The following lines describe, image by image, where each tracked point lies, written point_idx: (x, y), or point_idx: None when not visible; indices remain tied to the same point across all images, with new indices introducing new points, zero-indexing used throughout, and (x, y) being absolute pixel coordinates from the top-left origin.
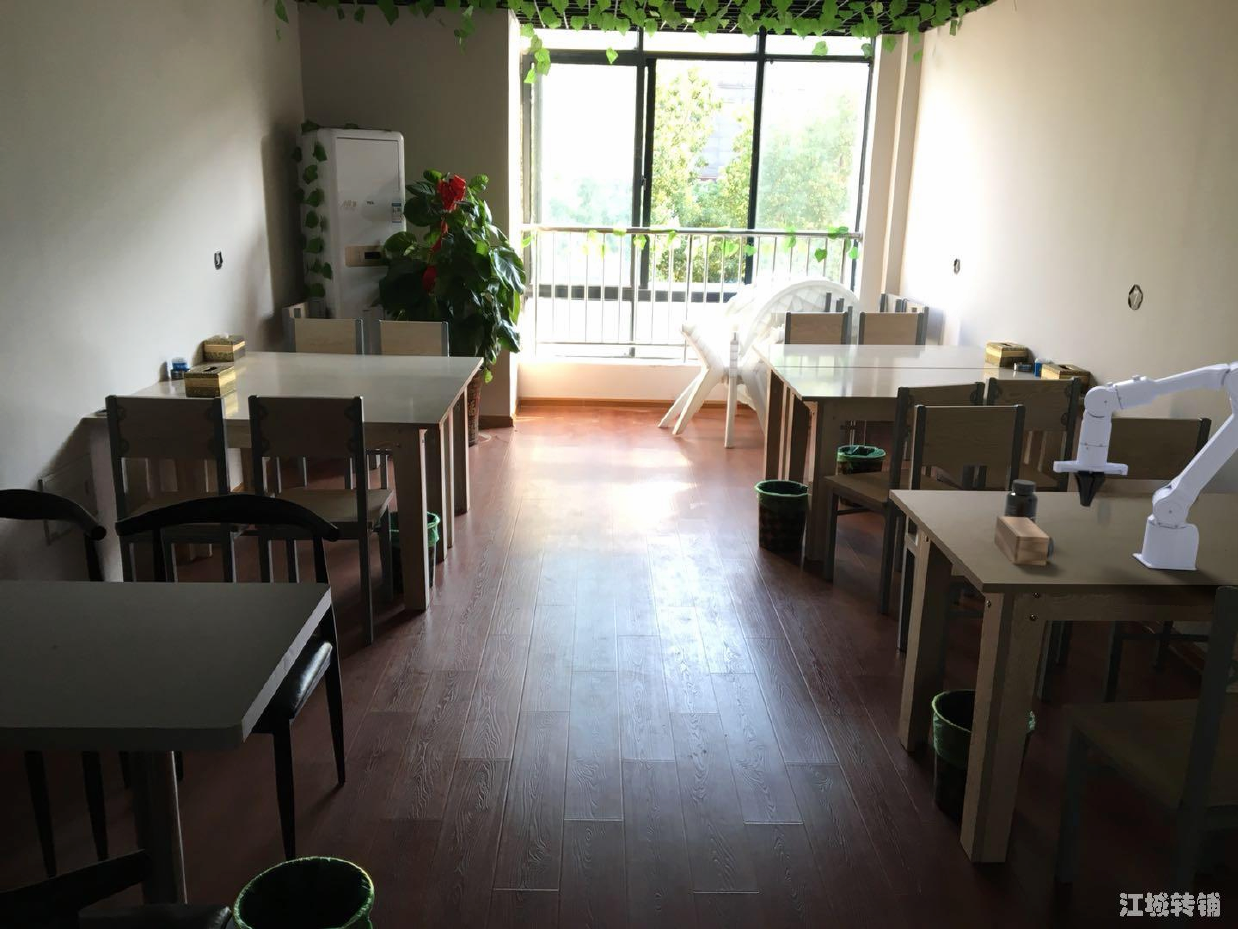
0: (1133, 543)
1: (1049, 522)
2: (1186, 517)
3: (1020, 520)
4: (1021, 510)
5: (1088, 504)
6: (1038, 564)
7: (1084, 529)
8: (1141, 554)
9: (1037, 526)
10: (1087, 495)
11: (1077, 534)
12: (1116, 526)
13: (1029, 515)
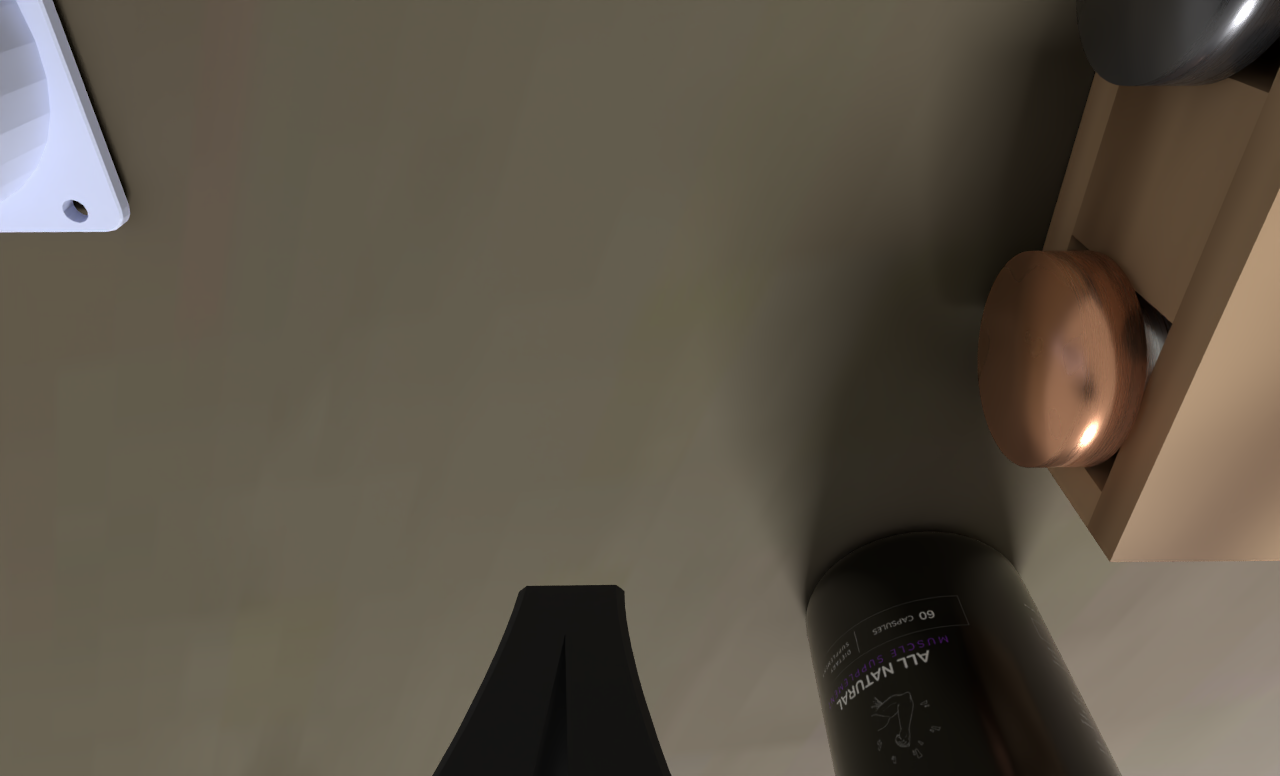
0: (115, 516)
1: None
2: None
3: (1274, 467)
4: (1043, 712)
5: (551, 609)
6: None
7: (413, 701)
8: (47, 212)
9: (1097, 391)
10: (593, 745)
11: (486, 622)
12: (201, 762)
13: (949, 673)
